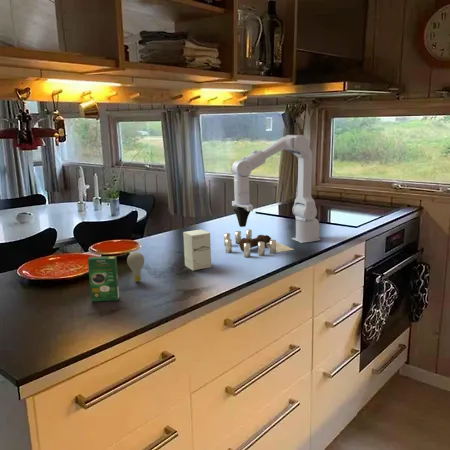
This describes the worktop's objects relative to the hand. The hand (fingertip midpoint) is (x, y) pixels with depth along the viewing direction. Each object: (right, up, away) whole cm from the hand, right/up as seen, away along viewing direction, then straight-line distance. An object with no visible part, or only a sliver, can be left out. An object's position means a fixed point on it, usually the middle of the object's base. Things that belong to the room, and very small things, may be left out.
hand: (242, 226), depth 179 cm
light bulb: (-35, -18, -30) cm, 50 cm away
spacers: (+1, -9, +2) cm, 10 cm away
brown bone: (+6, -9, +5) cm, 11 cm away
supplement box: (-16, -14, -17) cm, 28 cm away
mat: (+13, -8, +7) cm, 17 cm away
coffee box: (-42, -22, -45) cm, 65 cm away
